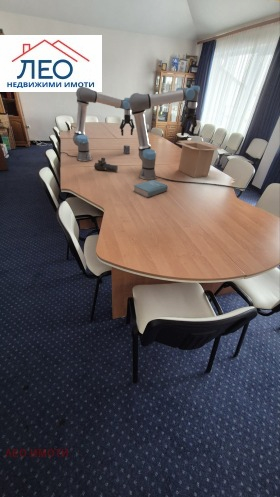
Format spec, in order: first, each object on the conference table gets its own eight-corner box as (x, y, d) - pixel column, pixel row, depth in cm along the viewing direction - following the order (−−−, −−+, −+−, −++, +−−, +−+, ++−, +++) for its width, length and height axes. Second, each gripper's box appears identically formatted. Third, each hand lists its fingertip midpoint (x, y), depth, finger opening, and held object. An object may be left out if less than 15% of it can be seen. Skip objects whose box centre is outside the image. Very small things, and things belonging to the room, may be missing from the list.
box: (220, 177, 217) (229, 148, 201) (192, 181, 203) (199, 150, 187) (192, 165, 247) (198, 138, 231) (166, 167, 233) (170, 139, 217)
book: (152, 185, 190) (153, 179, 187) (167, 191, 181) (167, 185, 178) (133, 191, 176) (133, 185, 173) (147, 198, 167) (148, 191, 164)
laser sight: (115, 173, 209) (115, 162, 203) (92, 170, 212) (92, 159, 206) (118, 170, 216) (118, 159, 211) (96, 167, 219) (95, 157, 213)
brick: (126, 152, 276) (126, 145, 270) (129, 153, 272) (129, 146, 267) (123, 153, 273) (123, 145, 267) (126, 154, 269) (126, 146, 264)
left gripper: (134, 113, 257) (133, 134, 269) (116, 114, 243) (116, 135, 256) (138, 114, 252) (137, 135, 265) (120, 114, 239) (120, 136, 252)
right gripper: (197, 107, 199) (192, 133, 212) (178, 107, 186) (174, 135, 198) (204, 108, 195) (198, 134, 207) (185, 108, 181) (181, 136, 194)
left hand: (127, 135), depth 261 cm, fingers open, 13 cm apart
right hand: (187, 135), depth 203 cm, fingers open, 13 cm apart
